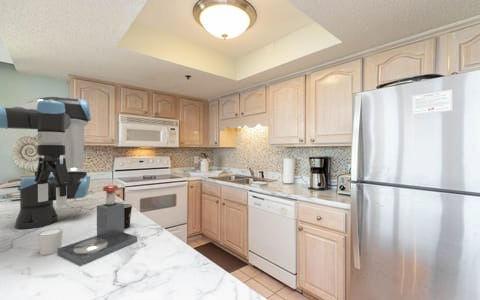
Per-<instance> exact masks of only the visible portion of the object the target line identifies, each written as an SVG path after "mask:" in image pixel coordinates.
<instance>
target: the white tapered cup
mask: <svg viewBox="0 0 480 300" xmlns="http://www.w3.org/2000/svg"><path fill="white" fill-rule="evenodd" d="M63 230H64V229H62V228H51V229H47V230H42V231H40V232H39V233H38V234H37V240H38V247H39V254H40V255H41V256H49V255H53V254H55V253H58V248H61V247H62V241H63Z"/></svg>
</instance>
